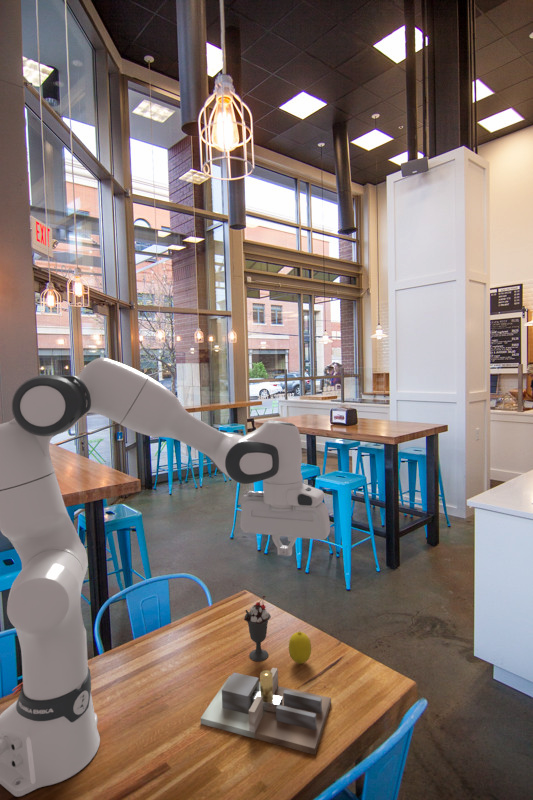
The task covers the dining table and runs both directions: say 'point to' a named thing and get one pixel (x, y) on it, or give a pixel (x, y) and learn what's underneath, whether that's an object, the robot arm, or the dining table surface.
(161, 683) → the dining table surface
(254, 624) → the sundae
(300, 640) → the lemon
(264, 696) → the bolt
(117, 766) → the dining table surface
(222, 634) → the dining table surface
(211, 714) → the lock board
